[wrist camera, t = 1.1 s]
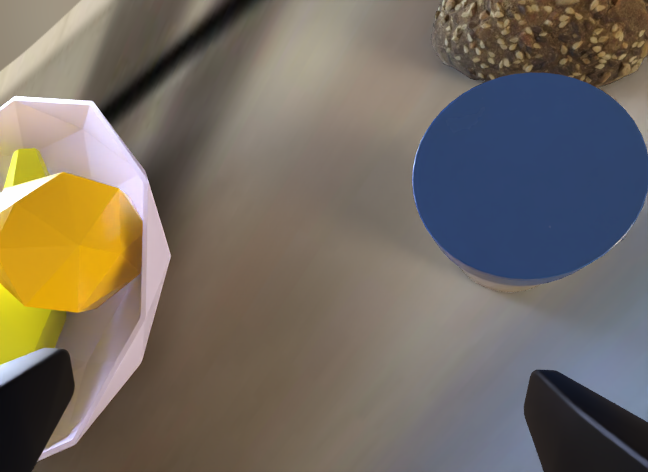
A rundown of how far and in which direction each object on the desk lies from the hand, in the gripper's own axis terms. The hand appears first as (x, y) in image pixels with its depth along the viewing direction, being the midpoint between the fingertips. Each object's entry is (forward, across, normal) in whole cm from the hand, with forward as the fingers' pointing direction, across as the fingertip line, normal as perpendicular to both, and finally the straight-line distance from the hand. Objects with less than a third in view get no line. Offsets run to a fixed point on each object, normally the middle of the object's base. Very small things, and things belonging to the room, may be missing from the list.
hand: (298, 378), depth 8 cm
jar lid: (+7, -7, -3) cm, 10 cm away
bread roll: (+22, -13, -11) cm, 28 cm away
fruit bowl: (+24, +20, +11) cm, 34 cm away
